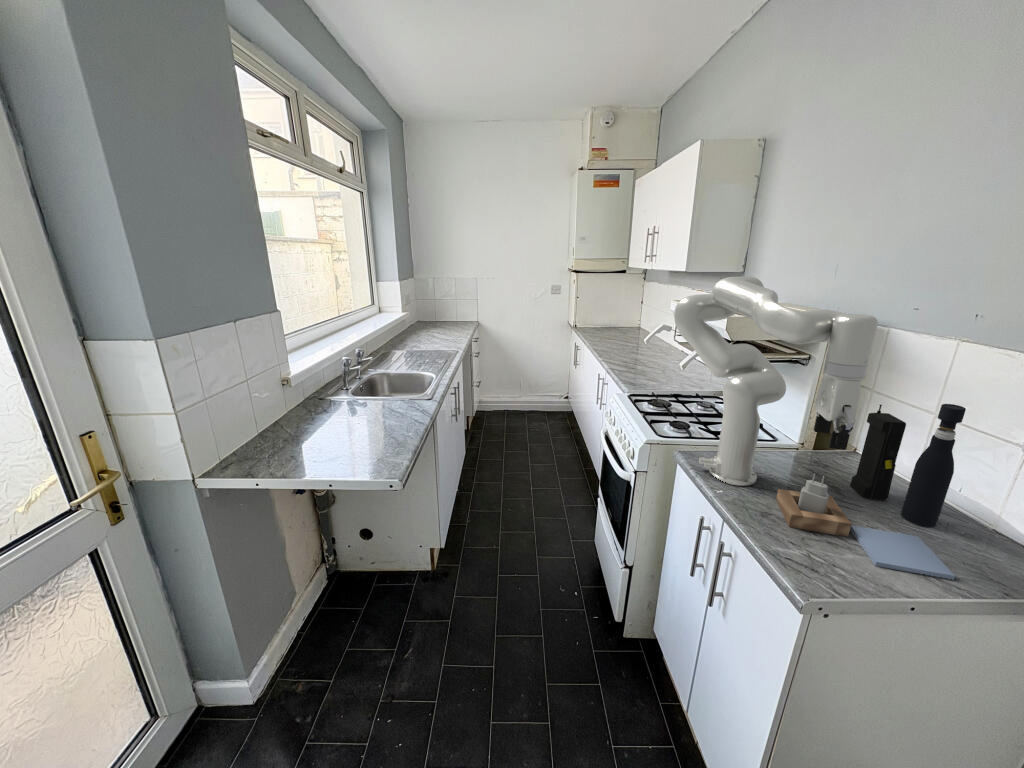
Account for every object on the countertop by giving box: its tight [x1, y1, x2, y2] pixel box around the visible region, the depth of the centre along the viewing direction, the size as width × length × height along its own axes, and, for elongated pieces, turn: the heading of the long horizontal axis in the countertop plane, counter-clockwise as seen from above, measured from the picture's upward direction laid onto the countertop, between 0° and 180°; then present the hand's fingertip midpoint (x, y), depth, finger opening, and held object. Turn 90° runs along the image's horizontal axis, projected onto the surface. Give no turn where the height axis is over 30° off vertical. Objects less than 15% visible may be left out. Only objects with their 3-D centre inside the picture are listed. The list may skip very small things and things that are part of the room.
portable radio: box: [849, 404, 907, 501], centre depth 109 cm, size 8×6×25 cm
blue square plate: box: [849, 525, 956, 581], centre depth 91 cm, size 13×13×1 cm
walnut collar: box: [775, 488, 852, 538], centre depth 103 cm, size 12×12×4 cm
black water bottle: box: [900, 403, 967, 528], centre depth 97 cm, size 6×6×30 cm
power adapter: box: [798, 473, 830, 514], centre depth 101 cm, size 3×5×12 cm, turn 42°
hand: (828, 440), depth 97 cm, fingers open, 9 cm apart
